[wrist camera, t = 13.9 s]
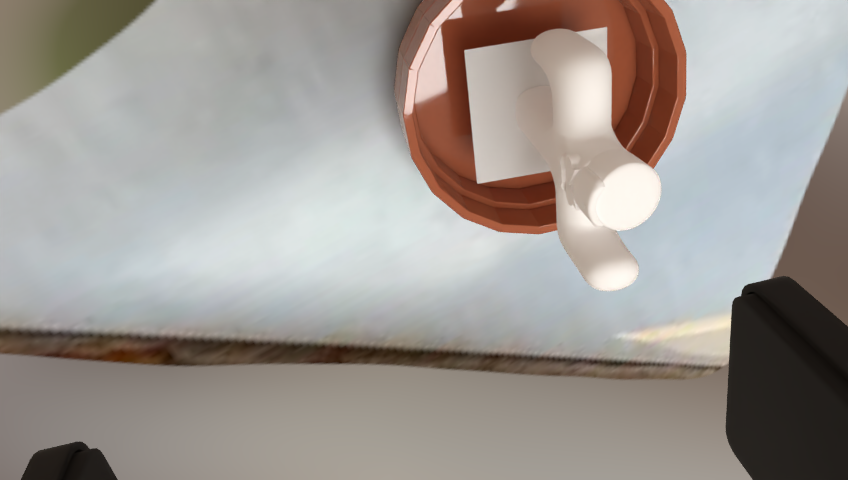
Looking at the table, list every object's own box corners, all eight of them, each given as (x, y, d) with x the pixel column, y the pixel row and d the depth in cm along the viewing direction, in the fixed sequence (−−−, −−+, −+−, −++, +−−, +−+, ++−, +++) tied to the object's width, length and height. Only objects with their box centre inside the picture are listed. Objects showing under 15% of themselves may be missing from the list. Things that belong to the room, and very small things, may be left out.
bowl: (369, -28, 36) (376, -14, 31) (642, -87, 36) (688, -80, 32) (419, 219, 43) (432, 259, 38) (647, 167, 43) (685, 201, 39)
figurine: (581, -9, 37) (728, 61, 24) (583, 155, 42) (708, 288, 28) (448, 13, 36) (525, 95, 23) (465, 175, 41) (537, 320, 28)
